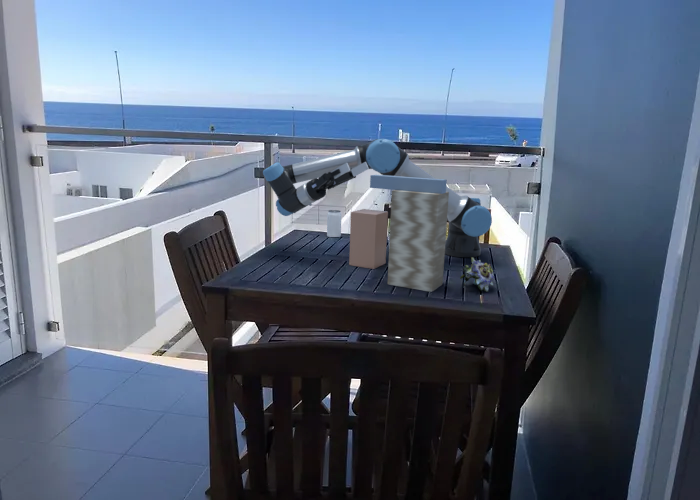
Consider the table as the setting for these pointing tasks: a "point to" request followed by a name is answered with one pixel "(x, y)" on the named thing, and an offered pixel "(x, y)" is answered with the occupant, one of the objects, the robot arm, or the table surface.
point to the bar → (408, 183)
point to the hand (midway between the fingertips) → (358, 165)
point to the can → (334, 223)
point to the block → (368, 238)
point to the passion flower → (479, 274)
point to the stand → (417, 239)
